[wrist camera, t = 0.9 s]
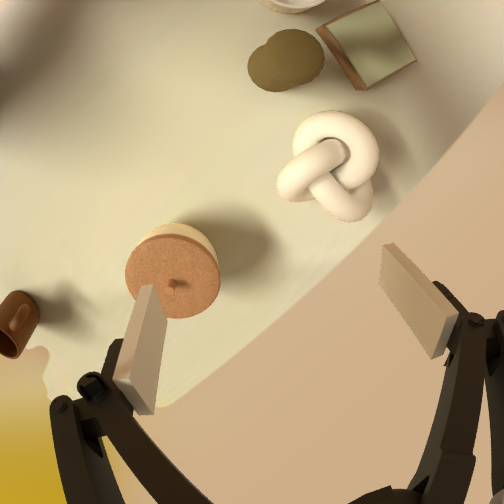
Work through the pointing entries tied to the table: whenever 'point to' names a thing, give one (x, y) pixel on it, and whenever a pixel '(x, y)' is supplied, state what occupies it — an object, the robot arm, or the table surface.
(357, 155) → the white decorative knot
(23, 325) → the mug
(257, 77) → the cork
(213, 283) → the lidded jar
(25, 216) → the table surface
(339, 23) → the stand
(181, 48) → the table surface
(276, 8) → the ramekin
